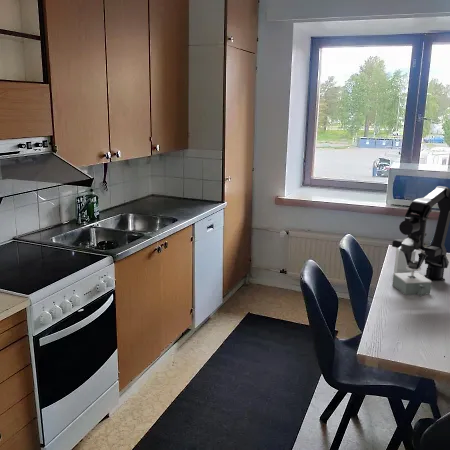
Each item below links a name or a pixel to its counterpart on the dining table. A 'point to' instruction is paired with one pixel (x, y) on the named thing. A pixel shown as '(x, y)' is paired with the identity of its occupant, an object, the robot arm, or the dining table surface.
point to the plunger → (413, 267)
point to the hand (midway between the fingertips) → (413, 266)
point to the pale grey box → (412, 283)
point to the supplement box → (402, 261)
